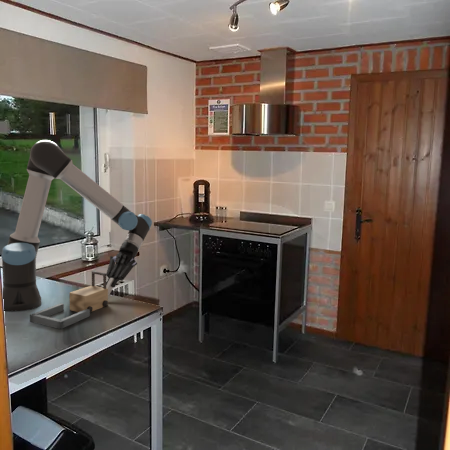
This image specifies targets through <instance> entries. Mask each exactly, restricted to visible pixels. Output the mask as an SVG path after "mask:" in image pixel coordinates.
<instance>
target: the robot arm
mask: <svg viewBox="0 0 450 450" xmlns="http://www.w3.org/2000/svg"><path fill="white" fill-rule="evenodd" d="M26 171H27V173H28V179H27V182H26V187H25V191H24V195H23V199H22V201H21V202H22V204H21V207H20V211H19V215H18V219H17V222H16V226H15V231H14V232H12V233H11V234H10V235H9V237H8V242H7V245H4V246H3V247H2V249H1V250H2V251H1V263H2V264H1V265H2V289H3V299H4V309H5V312H25V311H30V310H32V309H35V308H38V307H39V306H41V305H42V297H41V294H40V291H39V288H38V286H37V255H38V252H39V248H40V243H41V240H40V238H39V236H38V235H39V231H40V227H41V223H42V220H43V215H44V212H45V208H46V204H47V200H48V196H49V191H50V188H51V184H52V181H53V180H54V179H55V180H57V179H58V180H60V181H62V182H63V183H65V184H66V185H67V186H68V187H70V188H71V189H72V190H73V191H75V192H76V193H77V194H79V195H80V196H81V197H82V198H83V199H85V200H86V201H87V202H89V203H90V204H91V205H93V206H94V207H95V208H96V209H98V210H99V211H100V212H101V213H103V214H104V215H105V216H106V217H108V218H109V219H110V220H111V221H112V222H114V223H115V224H116V225H117V226H119V227H120V229H122V230H123V231H124V230H125V231H128V232H127V234H126V236H125V238H124V239H123V242H122V244H121V245H120V247H119V250H118V252H117V254H116V255H114V256H113V255H111V256H110V257H109V263H108V266H107V271H106V278H108V279H107V280H106V288H108V296H110V294H111V292H112V291H113V289H114V288H116V286H117V284H118V282H119V281H121V282H122V281H124V280H125V278H127V276H128V275H129V273H130V272H131V271H132V269H133V268H134V267H135V266H137V265H138V262H137V261H136V260H135V258H136V256H137V255H138V252H139V250H140V249H141V246H142V245H143V243H144V241H145V239H146V237H147V236H148V233H149V231H151V230H150V229H151V228H152V224H153V220H152V218H151V217H150V216H149V215H146V214H143V213H139V214H136V213H134V212H132V210H130V209H129V208H128V207H126V206H125V205H123V203H121V202H120V201H119V200H118V199H116V198H115V197H114V196H113V195H111V194H110V193H109V192H108V191H107V190H106V189H105V188H103V187H101V185H99V184H98V183H97V182H96V181H94V180H93V179H92V178H91V177H90V176H88V175H87V174H86V173H85V172H84V171H82V170H81V169H80V168H78V167H77V166H76V165H74V163H73V159H72V158H70V157H69V156H68V155H67V154H66V153H65V152H64V151H63V150H62V148H61V147H60V146H59V145H58V144H57V143H56V142H54V141H51V140H50V139H49V140H48V139H42V140H39V141H37V142H35V143H34V144H33V145H32V147H31V148H30V151H29V158H28V162H27V167H26Z"/></svg>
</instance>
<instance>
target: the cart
mask: <svg viewBox="0 0 450 450" xmlns="http://www.w3.org/2000/svg"><path fill="white" fill-rule="evenodd" d="M106 273H107V272H106ZM106 273H105V272H100V271H95V270H92V271H91V285H89V286H86V287H81V288H80V289H77V290H76V289H75V290H73V291H70V292H69V311H73V312H76V313H78V312H81V311H83V310H85V309H89V310H90V314H91V313H92V312H94V311H97V310H99V309H102V308H107V306H108V305H109V300H108V299H109V295H108V288H106V282H107V276H106ZM96 275H99V276H103V277H102V278H103V279H102V280H103V282H102V283H103V284H102V286H97V285H96V282H95V280H96V279H95V277H96Z"/></svg>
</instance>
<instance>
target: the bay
mask: <svg viewBox="0 0 450 450" xmlns="http://www.w3.org/2000/svg"><path fill="white" fill-rule="evenodd" d="M64 307H65V305H64V303H61V302H60V303H58V304H55V305H52V306H50V307H47V308H44V309H42V310H38V311H36V312H34V313H31V314H29V322H30V323H35V324H39V325H43V326H46V327H50V328H55V329H58V330H62V329H64V328H67V327H69V326H71V325H73V324H75V323H78V322H79V321H82V320H85V319H87V318H89V317H90V316H91V313H90V310H89V309H85V310H83V311H81V312H76V313H74V314H72V315H69V316H66V317H64V318H61V319H59V318H53V317H51V316H53V315H56V314H58V313H60V312H63V311H64V309H65V308H64Z"/></svg>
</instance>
